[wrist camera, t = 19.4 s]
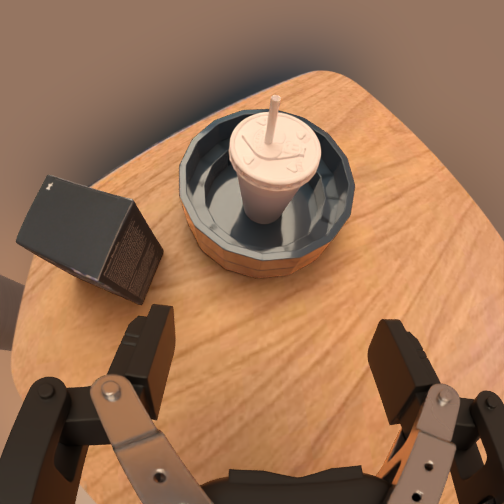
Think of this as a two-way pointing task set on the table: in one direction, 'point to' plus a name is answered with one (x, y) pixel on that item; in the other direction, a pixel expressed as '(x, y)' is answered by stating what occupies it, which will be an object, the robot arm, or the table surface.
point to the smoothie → (272, 160)
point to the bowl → (241, 226)
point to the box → (92, 237)
